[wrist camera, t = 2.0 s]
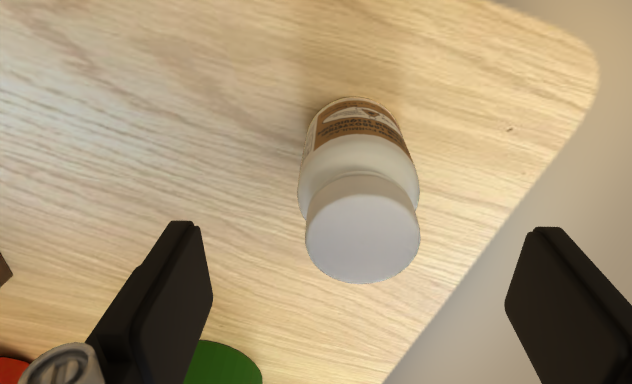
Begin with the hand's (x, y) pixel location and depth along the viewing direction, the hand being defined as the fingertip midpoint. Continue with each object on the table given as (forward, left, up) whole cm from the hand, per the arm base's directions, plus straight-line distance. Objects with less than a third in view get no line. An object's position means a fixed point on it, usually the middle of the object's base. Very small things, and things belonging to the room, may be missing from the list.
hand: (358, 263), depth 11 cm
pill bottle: (0, 0, -8) cm, 8 cm away
